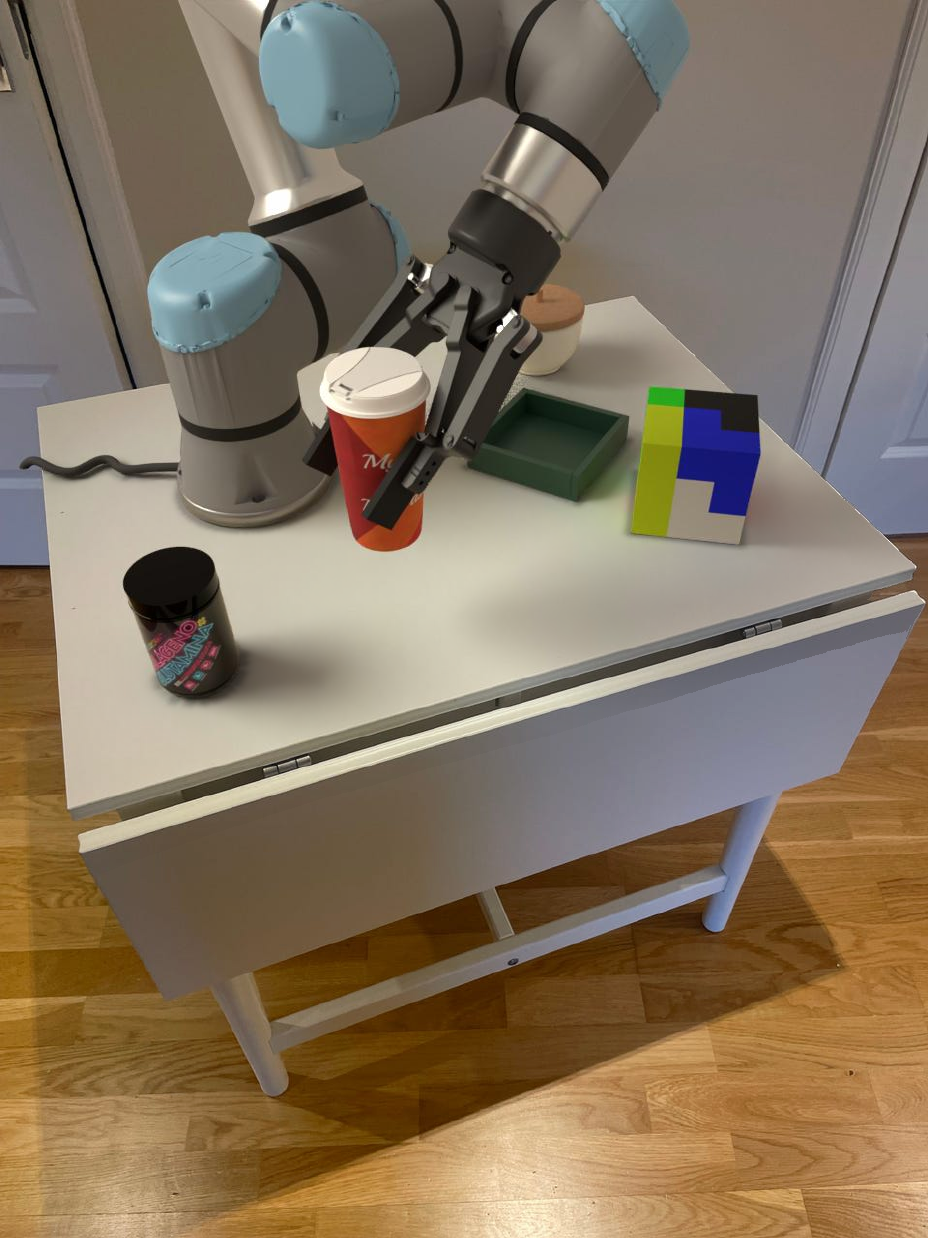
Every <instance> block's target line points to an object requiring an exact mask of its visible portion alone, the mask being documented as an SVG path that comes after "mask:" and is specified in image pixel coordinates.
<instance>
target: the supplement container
mask: <svg viewBox="0 0 928 1238" xmlns="http://www.w3.org/2000/svg"><path fill="white" fill-rule="evenodd" d="M217 572H218V571H217V568H216V564H215V562H214V560H213V558H212V557H211V556H210V555H209V554H208V553H207V552H205V551H203V550H202V549H199V548H195V547H191V546H169V547H164V548H160V549H156V550H154V551H151V552H149V553H147V554H145V555H143V556H142V557H140V558H139V559H137V560H136V561H135V562H133V564H131V565H130V566H129V568H128V569H127V570H126V572H125V574H124V576H123V579H122V588H123V591H124V594H125V596H126V600H127V603H128V606H129V608H130V610H131V612H132V614H133V616H134V617H133V618H134V619H135V622H136V625H137V627H138V630H139V632H140V635H141V638H142V640H143V641H142V642H143V643H144V646H145V649H146V651H147V654H148V656H149V660H150V662H151V664H152V667H153V670H154V673H155V676H156V679H157V681H158V683H159V684H160V686H161V687H162V688H163V689H165V690H166V691H167V692H169V693H170V694H173V695H174V696H178V697H183V698H202V697H205V696H210V695H212V694H214V693H216V692H218V691H219V690H221V689H223V688H224V687H226V686H227V685H228V684H229V683H230V682H231V681H232V680H233V679H234V678H235V676H236V674H237V672H238V670H239V666H240V660H241V659H240V653H239V649H238V646H237V642H236V639H235V635H234V632H233V627H232V625H231V620H230V617H229V613H228V609H227V606H226V603H225V598H224V595H223V591H222V589H221V582H220V578H219V575H218V573H217Z"/></svg>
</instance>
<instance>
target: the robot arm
mask: <svg viewBox="0 0 928 1238" xmlns="http://www.w3.org/2000/svg"><path fill="white" fill-rule="evenodd" d="M177 2H178V4H179V7H180V9H181V12H182V14H183V17H184V20H185V23H186V25H187V27H188V30H189V32H190V34H191V37H192V40H193V42H194V45H195V48H196V50H197V53H198V55H199V58H200V61H201V64H202V66H203V69H204V71H205V74H206V76H207V78H208V81H209V84H210V86H211V89H212V91H213V94H214V96H215V99H216V102H217V104H218V107H219V110H220V112H221V114H222V117H223V120H224V122H225V125H226V127H227V129H228V133H229V135H230V137H231V141H232V143H233V145H234V147H235V150H236V152H237V156H238V158H239V161H240V163H241V166H242V169H243V170H244V173H245V176H246V178H247V181H248V184H249V186H250V188H251V191H252V194H253V197H254V201H253V206H252V209H251V210H250V213H249V217H248V219H247V225H248V227H249V230H250V232H244V231H228V232H227V231H226V232H220V233H219V235H216V236H211V235H209V234H207V235H204V236H201V237H197V238H195V239H192V240H190V241H188V242H185V243H183V244H181V245H179V246H177V247H176V248H174V249H172V250H171V251H170V252H168V253H167V254H166V255H165V256H164V257H162V258H161V259H160V260H159V261H158V263H157V264H156V265H155V266H154V267H153V270H152V271H151V273H150V276H149V280H148V284H147V289H146V290H147V291H146V293H147V299H148V306H149V312H150V316H151V317H150V318H151V328H152V329H151V330H152V332H153V335H154V337H155V339H156V340H157V342H158V345H159V350H160V353H161V357H162V360H163V361H162V362H163V364H164V368H165V371H166V375H167V378H168V379H167V380H168V383H169V386H170V389H171V393H172V398H173V401H174V405H175V408H176V412H177V415H178V418H179V423H180V427H181V430H180V431H181V432H180V440H179V441H180V443H179V457H180V459H179V462H149V463H139V464H124V463H121V461H119V459H117V458H116V457H115V456H113V455H110V454H102V455H97V456H94V457H91V458H89V459H88V460H86V461H85V462H82V463H81V464H78V465H76V466H71V467H64V466H59V465H57V464H54V463H52V462H50V461H49V460H47V459H44V458H43V457H39V456H36V455H31V456H27V457H25V459H23V460H22V461H21V462H20V464H19V466H18V468H19V469H20V470H28V469H30V468H32V466H36V467H39V468H40V469H42V470H45V471H46V472H48V473H50V474H53V475H55V476H58V477H65V478H71V477H77V476H81V475H83V474H85V473H87V472H89V471H91V470H93V469H94V468H96V467H99V466H102V465H109V466H110V467H111V468H112V469H113V470H115V471H116V472H118V473H120V474H124V475H138V474H147V473H165V472H166V473H168V472H169V473H170V472H171V473H174V472H177V473H176V475H177V476H176V483H177V487H178V491H179V495H180V498H181V500H182V503H183V505H184V506H185V508H186V509H187V510H188V511H189V512H190V513H191V514H193V516H195V517H197V518H198V519H200V520H203V521H204V522H206V523H207V522H208V523H211V524H214V525H218V526H223V527H231V528H251V527H253V528H254V527H261V526H267V525H272V524H275V523H279V522H282V521H286V520H288V519H291V518H293V517H295V516H297V515H299V514H301V513H303V512H305V511H307V510H308V509H309V508H311V507H313V506H314V505H315V504H316V503H317V502H318V501H319V500H321V499H322V497H323V496H324V495H325V493H326V492H327V490H328V489H329V486H330V483H331V478H332V476H333V474H335V472H336V470H337V468H339V467H338V462H337V456H336V451H335V446H334V441H333V436H332V430H331V425H330V420H329V415H328V411H327V412H326V413H325V417H324V423H323V424H322V426H321V428H320V427H319V426H318V425H317V424H316V423H315V422H314V421H311V420H310V419H309V417H308V416H307V414H306V412H305V410H304V408H303V405H302V399H301V393H300V387H299V380H298V374H299V372H300V371H302V370H303V369H305V368H307V367H309V366H311V365H312V364H315V363H316V362H318V361H320V360H322V359H324V358H326V357H328V356H330V355H331V354H333V353H335V352H337V351H338V350H341V351H340V352H339V353H338V354H337V356H336V357H338V356H340V355H341V354H344V353H346V352H349V351H352V350H355V349H360V348H366V347H384V348H393V349H397V350H401V351H403V352H406V353H408V354H410V355H412V356H413V357H415V358H416V357H418V355H419V354H421V353H422V352H423V351H424V350H425V349H426V348H427V347H429V346H430V345H431V344H432V343H439V342H441V341H443V340H444V339H445V347H446V350H447V353H446V355H445V359H444V362H443V366H442V369H441V372H440V376H439V379H438V382H437V386H436V389H435V393H434V396H433V399H432V403H431V406H430V410H429V413H428V416H427V420H426V421H425V429H424V432H419V433H418V432H416V433H415V436H416V438H414V437H413V436H411V437H410V439H409V440H408V442H407V443H406V445H405V446H404V448H403V449H402V451H401V453H400V454H399V456H398V457H397V459H396V460H395V462H394V463H393V465H392V467H391V468H390V470H389V471H388V473H387V474H386V476H385V477H384V479H383V481H382V482H381V484H380V485H379V487H378V488H377V490H376V492H375V493H374V495H373V496H372V498H371V499H370V501H369V502H368V504H367V506H366V507H365V509H364V510H363V512H362V513H361V515H362V516H363V517H364V518H365V519H366V520H369V521H371V522H373V523H375V524H378V525H380V526H382V527H384V528H387V529H389V530H392V529H393V527H394V526H395V524H396V523H397V521H398V520H399V518H400V517H401V515H402V513H403V512H404V510H405V509H406V507H407V506H408V504H409V503H410V501H411V500H412V498H413V497H414V495H415V494H418V495H420V494H421V493H422V492H423V491H424V492H425V491H426V489H427V488H428V486H429V484H430V483H431V481H432V480H433V479H434V477H435V476H436V474H437V472H438V471H439V469H440V468H441V466H442V465H443V464H444V462H445V460H447V459H448V458H451V457H454V458H459V459H463V460H465V461H466V462H467V461H471V460H473V459H474V458H475V457H476V455H477V454H478V452H479V450H480V448H481V446H482V444H483V442H484V440H485V438H486V436H487V434H488V432H489V430H490V428H491V426H492V424H493V422H494V420H495V418H496V416H497V414H498V412H499V411H500V410H501V409H502V406H503V404H504V402H505V401H506V399H507V397H508V395H509V393H510V390H511V388H512V386H513V384H514V382H515V381H516V379H517V377H518V375H519V374H520V372H519V371H520V369H521V367H522V365H523V363H524V362H525V361H526V360H527V359H528V358H529V356H530V355H531V354H532V353H533V352H534V351H535V350H536V348H537V347H538V346H539V345H540V344H541V342H542V340H543V335H542V333H541V332H540V331H539V330H538V329H537V328H535V327H534V326H533V325H532V324H531V323H530V322H529V321H528V320H527V319H525V318H524V317H523V316H522V315H520V313H521V308H522V304H523V301H524V299H525V297H526V296H534V295H536V294H537V293H538V292H539V290H540V289H541V287H542V286H543V284H546V281H547V279H548V278H549V277H550V275H551V274H552V272H553V271H554V269H555V267H556V266H557V264H558V263H559V261H560V260H561V258H562V253H561V252H562V251H561V247H560V245H566V244H570V243H571V241H572V240H573V238H574V237H575V236H576V234H577V232H578V231H579V229H580V227H581V226H582V225H583V223H584V222H585V220H586V218H587V217H588V216H589V214H590V213H591V211H592V210H593V208H594V206H595V205H596V203H597V202H598V200H599V199H600V198H601V196H602V194H603V193H604V191H605V190H606V189H607V187H608V185H609V183H610V181H611V179H612V177H613V176H614V175H615V173H616V172H617V170H618V169H619V167H620V166H621V164H622V163H623V161H624V160H625V158H626V157H627V155H628V154H629V152H630V151H631V150H632V148H633V146H634V145H635V143H636V142H637V140H638V139H639V138H640V136H641V134H642V133H643V131H645V128H646V127H647V125H649V123H650V121H651V120H652V118H653V117H654V115H655V114H656V112H659V111H660V110H661V108H662V107H663V104H664V100H665V99H666V96H667V94H668V93H669V91H670V90H671V87H672V86H673V84H674V83H675V81H676V79H677V77H678V76H679V74H680V72H681V70H682V69H683V67H684V65H685V64H686V62H687V60H688V57H689V55H690V52H691V47H692V42H691V41H692V39H691V34H690V31H689V24H688V22H687V20H686V17H685V16H684V14H683V12H682V11H681V9H680V8H679V7H678V5H677V4H676V3H675V1H674V0H587V1H582V0H177ZM481 98H484V99H490V100H491V101H493V102H495V103H496V104H498V105H500V106H502V107H504V108H506V109H507V110H509V111H512V112H514V113H515V114H517V115H518V117H517V118H516V120H515V121H514V123H513V125H512V126H511V127H510V128H509V130H508V132H507V133H506V135H505V136H504V138H503V139H502V141H501V143H500V144H499V146H498V148H497V149H496V150H495V151H494V154H493V155H492V157H491V158H490V160H489V161H488V163H487V164H486V166H485V168H484V169H483V170H482V172H481V174H480V183H481V185H482V187H483V188H477V189H476V190H472V191H470V193H469V195H468V196H467V197H466V199H465V201H464V203H463V204H462V206H461V208H460V209H459V211H458V212H457V215H456V216H455V217H454V219H453V221H452V222H451V224H450V226H449V227H448V229H447V236H448V239H449V247H448V249H447V251H446V252H445V253H444V254H443V255H442V256H441V257H440V258H439V259H438V260H437V261H435V262H434V264H432V263H428V262H423V261H422V260H421V259H420V258H419V257H417V256H416V255H415V254H414V253H413V252H412V247H411V244H410V240H409V238H408V235H407V234H406V230H405V229H404V227H403V224H401V222H400V220H399V219H398V218H397V217H392V212H391V210H390V209H388V208H387V206H385V205H384V204H382V203H379V202H376V201H373V200H369V198H368V195H367V191H366V188H365V185H364V183H363V180H362V179H359V178H358V177H356V176H354V175H352V174H351V173H350V172H347V171H346V170H344V169H343V167H342V166H341V164H340V161H339V159H338V156H337V153H336V150H335V148H337V147H341V146H344V145H348V144H350V145H351V144H359V143H361V142H366V141H370V140H372V139H374V138H376V137H378V136H380V135H382V134H383V133H386V132H389V131H391V130H394V129H397V128H399V127H401V126H405V125H408V124H409V123H412V122H414V121H417V120H420V119H423V118H426V117H428V116H431V115H434V114H437V113H441V112H443V111H444V112H445V111H447V110H449V109H453V108H455V107H458V106H460V105H463V104H466V103H469V102H472V101H475V100H477V99H481ZM497 333H498V335H497V336H496V338H495V335H496V334H497ZM43 468H44V469H43Z"/></svg>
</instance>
